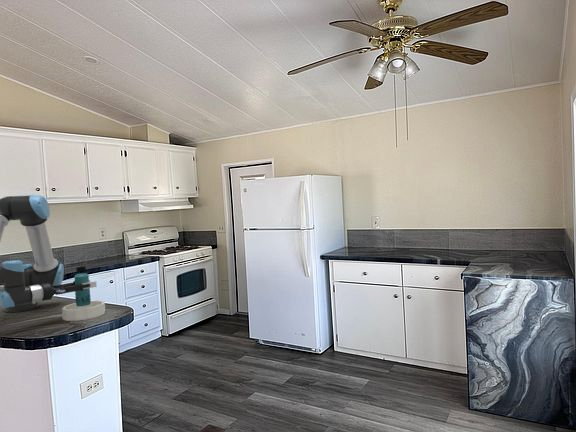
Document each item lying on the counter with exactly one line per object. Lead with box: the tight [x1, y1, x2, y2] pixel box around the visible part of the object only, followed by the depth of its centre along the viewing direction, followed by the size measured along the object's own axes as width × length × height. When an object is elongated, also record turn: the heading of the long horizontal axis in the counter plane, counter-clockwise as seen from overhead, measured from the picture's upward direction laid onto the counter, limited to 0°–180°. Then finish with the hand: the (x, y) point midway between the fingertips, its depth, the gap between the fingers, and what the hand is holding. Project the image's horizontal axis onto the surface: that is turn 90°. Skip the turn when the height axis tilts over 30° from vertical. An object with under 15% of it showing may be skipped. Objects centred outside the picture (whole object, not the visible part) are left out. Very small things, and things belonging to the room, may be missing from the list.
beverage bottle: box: [74, 265, 92, 306], centre depth 198 cm, size 6×7×20 cm
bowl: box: [61, 300, 106, 322], centre depth 199 cm, size 18×18×5 cm
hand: (92, 283), depth 202 cm, fingers closed on beverage bottle, 6 cm apart
